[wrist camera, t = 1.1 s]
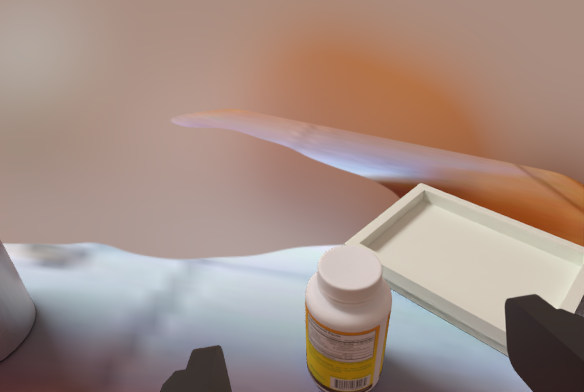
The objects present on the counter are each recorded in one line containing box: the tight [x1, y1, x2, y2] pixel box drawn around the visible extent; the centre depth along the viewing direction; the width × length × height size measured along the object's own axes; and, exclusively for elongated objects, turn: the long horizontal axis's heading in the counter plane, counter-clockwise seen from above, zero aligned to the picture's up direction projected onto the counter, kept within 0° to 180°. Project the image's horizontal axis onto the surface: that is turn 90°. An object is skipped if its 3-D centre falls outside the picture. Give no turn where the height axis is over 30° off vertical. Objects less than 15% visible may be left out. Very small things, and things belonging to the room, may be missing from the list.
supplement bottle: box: [305, 245, 392, 392], centre depth 29 cm, size 6×6×10 cm
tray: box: [344, 183, 584, 357], centre depth 40 cm, size 18×14×2 cm
